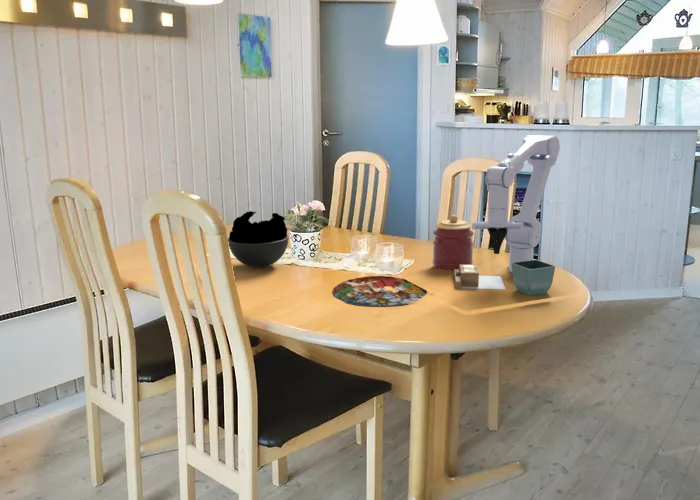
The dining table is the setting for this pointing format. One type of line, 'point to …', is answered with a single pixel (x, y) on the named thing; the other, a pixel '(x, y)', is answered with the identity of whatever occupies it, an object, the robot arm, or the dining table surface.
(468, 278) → the frame
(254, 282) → the dining table surface
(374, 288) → the decorative plaque
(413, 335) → the dining table surface
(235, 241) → the coal bowl
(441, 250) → the canister
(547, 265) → the flower pot
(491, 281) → the wall panel
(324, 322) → the dining table surface
